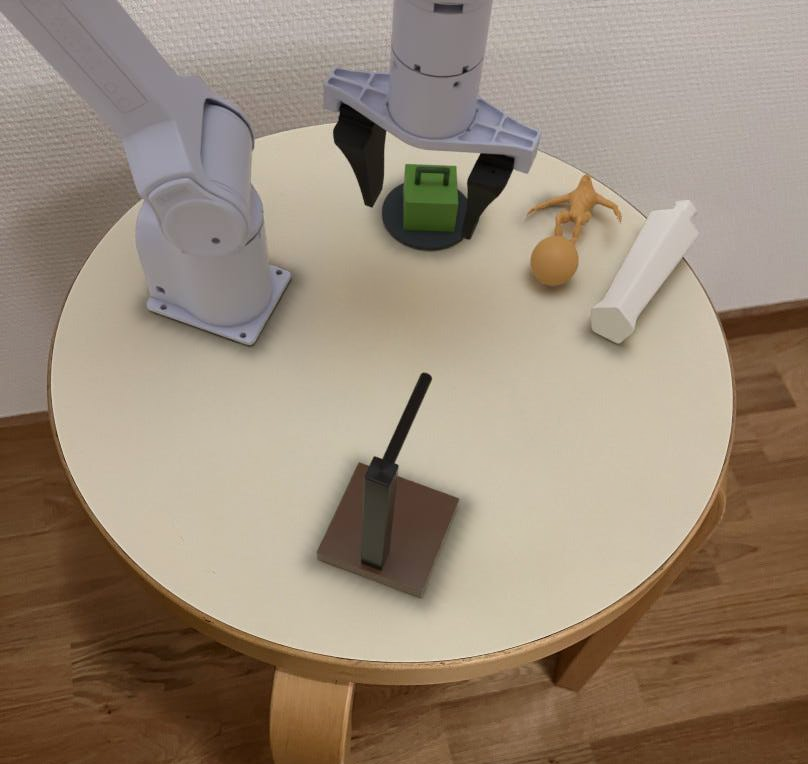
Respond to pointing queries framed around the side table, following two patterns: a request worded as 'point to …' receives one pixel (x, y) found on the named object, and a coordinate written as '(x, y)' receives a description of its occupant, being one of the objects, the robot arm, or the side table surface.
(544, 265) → the figurine
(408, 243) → the mat
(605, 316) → the perfume bottle
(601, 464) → the side table surface
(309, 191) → the side table surface
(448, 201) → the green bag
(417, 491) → the hook stand
